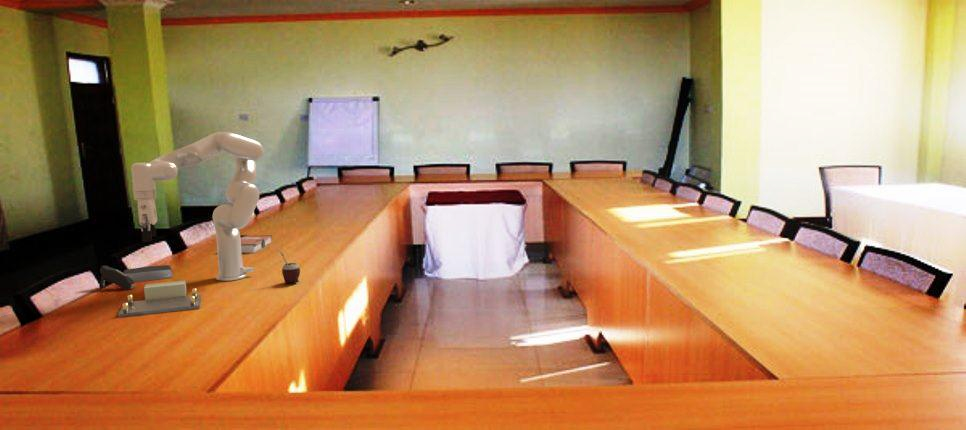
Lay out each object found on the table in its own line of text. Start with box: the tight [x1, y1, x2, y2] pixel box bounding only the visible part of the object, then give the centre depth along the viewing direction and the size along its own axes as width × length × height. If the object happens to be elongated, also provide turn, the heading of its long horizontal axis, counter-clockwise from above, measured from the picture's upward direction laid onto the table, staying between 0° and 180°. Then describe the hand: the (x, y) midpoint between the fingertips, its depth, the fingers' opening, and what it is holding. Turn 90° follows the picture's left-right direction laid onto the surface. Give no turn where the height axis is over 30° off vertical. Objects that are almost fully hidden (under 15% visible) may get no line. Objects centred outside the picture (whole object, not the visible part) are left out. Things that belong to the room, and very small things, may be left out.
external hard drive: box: [122, 264, 174, 283], centre depth 275 cm, size 13×19×4 cm
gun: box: [99, 265, 136, 291], centre depth 258 cm, size 3×16×10 cm, turn 79°
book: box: [240, 234, 272, 254], centre depth 333 cm, size 26×18×5 cm
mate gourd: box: [275, 248, 301, 286], centre depth 262 cm, size 8×8×15 cm
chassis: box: [117, 287, 203, 318], centre depth 232 cm, size 26×15×4 cm, turn 111°
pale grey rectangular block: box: [143, 280, 187, 300], centre depth 246 cm, size 14×6×5 cm, turn 112°
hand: (149, 239), depth 245 cm, fingers open, 9 cm apart
